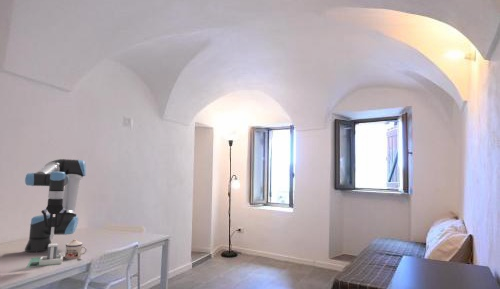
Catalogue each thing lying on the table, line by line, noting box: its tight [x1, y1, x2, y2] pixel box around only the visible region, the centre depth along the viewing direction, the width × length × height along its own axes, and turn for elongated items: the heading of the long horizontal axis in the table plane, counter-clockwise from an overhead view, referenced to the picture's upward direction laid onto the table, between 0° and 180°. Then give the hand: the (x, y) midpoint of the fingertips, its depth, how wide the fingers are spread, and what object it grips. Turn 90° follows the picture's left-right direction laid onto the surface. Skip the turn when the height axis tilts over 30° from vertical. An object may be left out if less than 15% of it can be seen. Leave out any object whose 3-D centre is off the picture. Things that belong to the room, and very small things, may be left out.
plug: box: [46, 243, 59, 259], centre depth 181 cm, size 5×4×10 cm
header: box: [39, 254, 64, 265], centre depth 181 cm, size 8×11×3 cm
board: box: [26, 252, 62, 268], centre depth 182 cm, size 18×16×3 cm
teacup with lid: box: [64, 238, 88, 260], centre depth 195 cm, size 12×9×12 cm
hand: (51, 238), depth 183 cm, fingers closed
